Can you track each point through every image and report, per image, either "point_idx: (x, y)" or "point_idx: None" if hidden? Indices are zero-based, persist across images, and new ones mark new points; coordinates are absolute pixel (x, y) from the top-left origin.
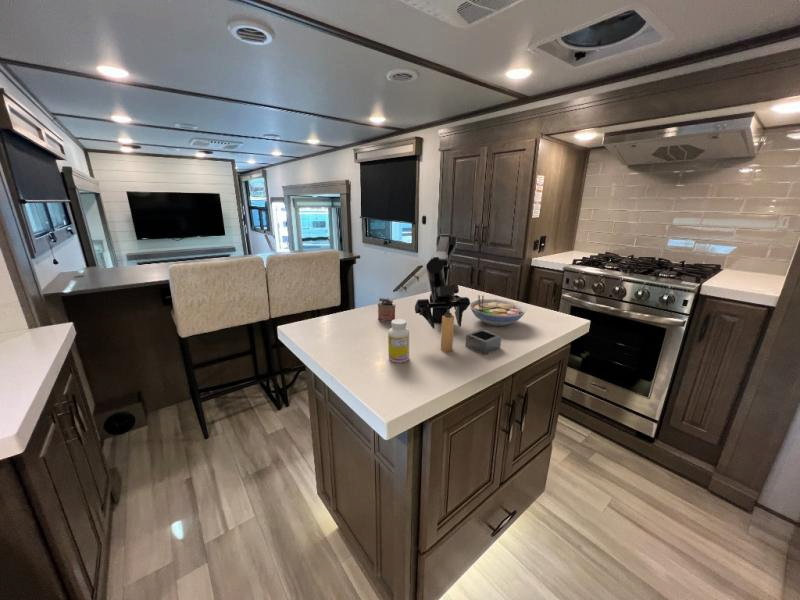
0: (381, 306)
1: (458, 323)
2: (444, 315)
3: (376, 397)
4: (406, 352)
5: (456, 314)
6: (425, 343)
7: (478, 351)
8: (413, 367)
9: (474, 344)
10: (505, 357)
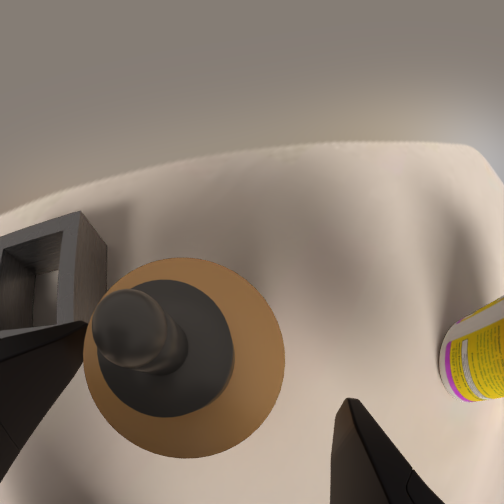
0: None
1: (73, 356)
2: (206, 425)
3: (501, 197)
4: (478, 311)
5: (5, 438)
6: (294, 487)
7: (104, 276)
8: (436, 277)
9: (93, 290)
10: (73, 204)
